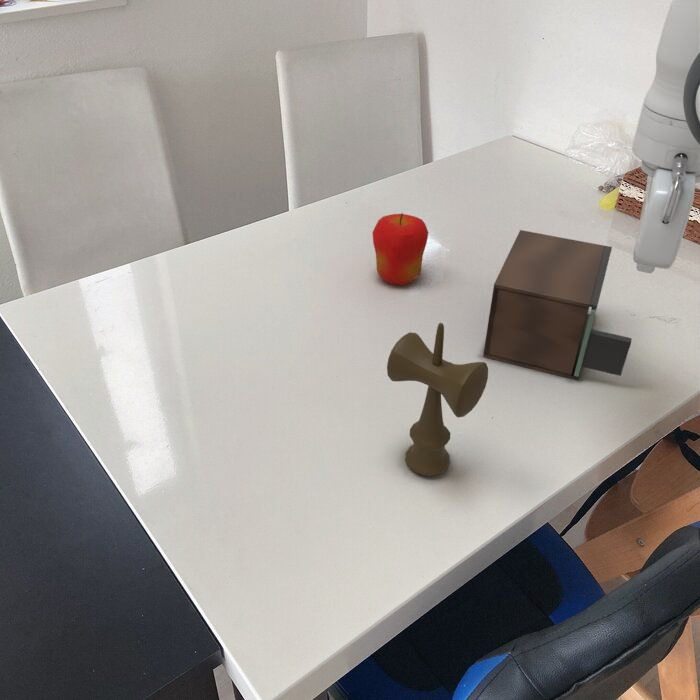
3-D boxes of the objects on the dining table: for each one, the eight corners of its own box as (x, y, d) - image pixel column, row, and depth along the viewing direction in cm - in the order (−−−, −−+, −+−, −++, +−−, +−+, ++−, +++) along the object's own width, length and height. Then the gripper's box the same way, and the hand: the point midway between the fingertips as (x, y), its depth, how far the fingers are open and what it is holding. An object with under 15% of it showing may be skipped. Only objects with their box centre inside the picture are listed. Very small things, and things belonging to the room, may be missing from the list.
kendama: (447, 499, 75) (467, 357, 63) (378, 457, 80) (383, 318, 67) (476, 467, 79) (499, 327, 66) (408, 430, 83) (418, 293, 71)
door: (623, 350, 95) (644, 286, 88) (617, 386, 89) (638, 320, 82) (582, 341, 96) (599, 277, 90) (573, 376, 90) (590, 310, 84)
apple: (427, 267, 114) (432, 202, 107) (421, 294, 107) (426, 227, 100) (376, 262, 115) (378, 197, 108) (367, 288, 109) (368, 221, 101)
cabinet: (593, 317, 102) (612, 246, 95) (577, 380, 91) (597, 305, 83) (508, 298, 106) (520, 229, 99) (482, 356, 95) (493, 283, 87)
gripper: (719, 185, 57) (672, 320, 65) (719, 110, 72) (680, 228, 80) (640, 173, 59) (604, 305, 67) (655, 102, 74) (624, 218, 82)
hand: (645, 263), depth 74 cm, fingers closed
